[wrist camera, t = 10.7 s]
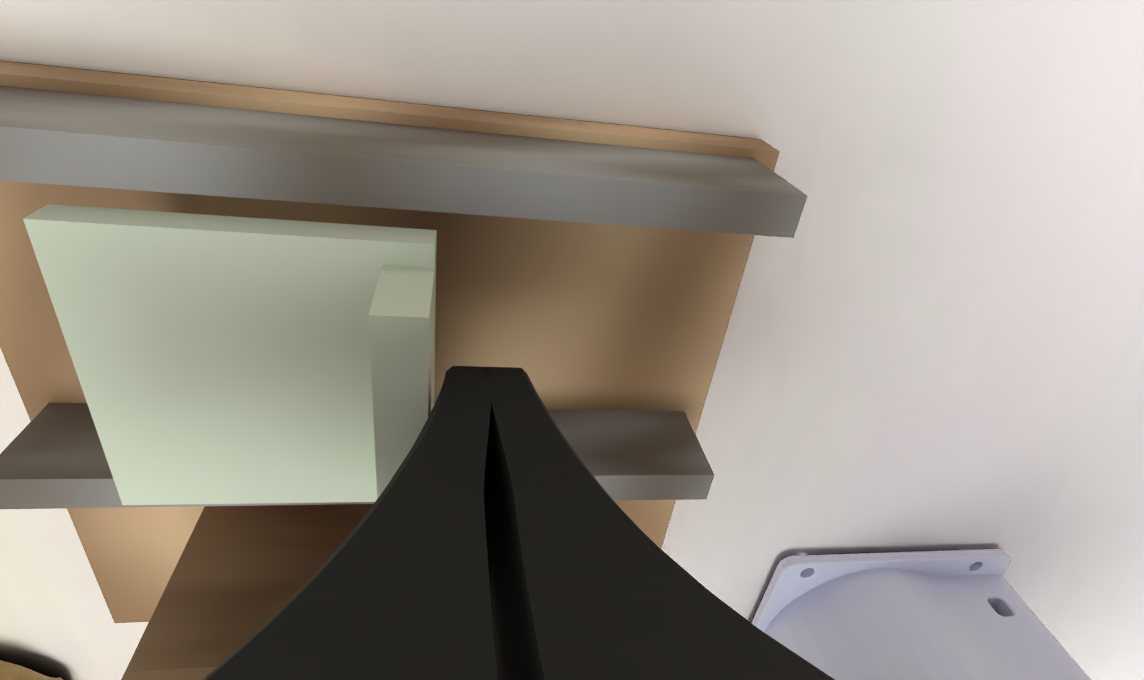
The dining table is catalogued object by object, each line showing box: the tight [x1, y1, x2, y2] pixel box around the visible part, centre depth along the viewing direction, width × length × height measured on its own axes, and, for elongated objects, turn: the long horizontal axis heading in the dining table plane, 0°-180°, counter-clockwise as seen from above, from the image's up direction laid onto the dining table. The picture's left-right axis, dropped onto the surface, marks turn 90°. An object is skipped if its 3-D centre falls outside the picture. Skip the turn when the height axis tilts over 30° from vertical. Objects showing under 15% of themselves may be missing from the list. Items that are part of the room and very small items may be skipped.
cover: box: [23, 204, 437, 505], centre depth 10 cm, size 6×6×2 cm
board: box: [0, 61, 807, 623], centre depth 15 cm, size 16×15×3 cm
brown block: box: [122, 504, 373, 680], centre depth 15 cm, size 5×5×6 cm
